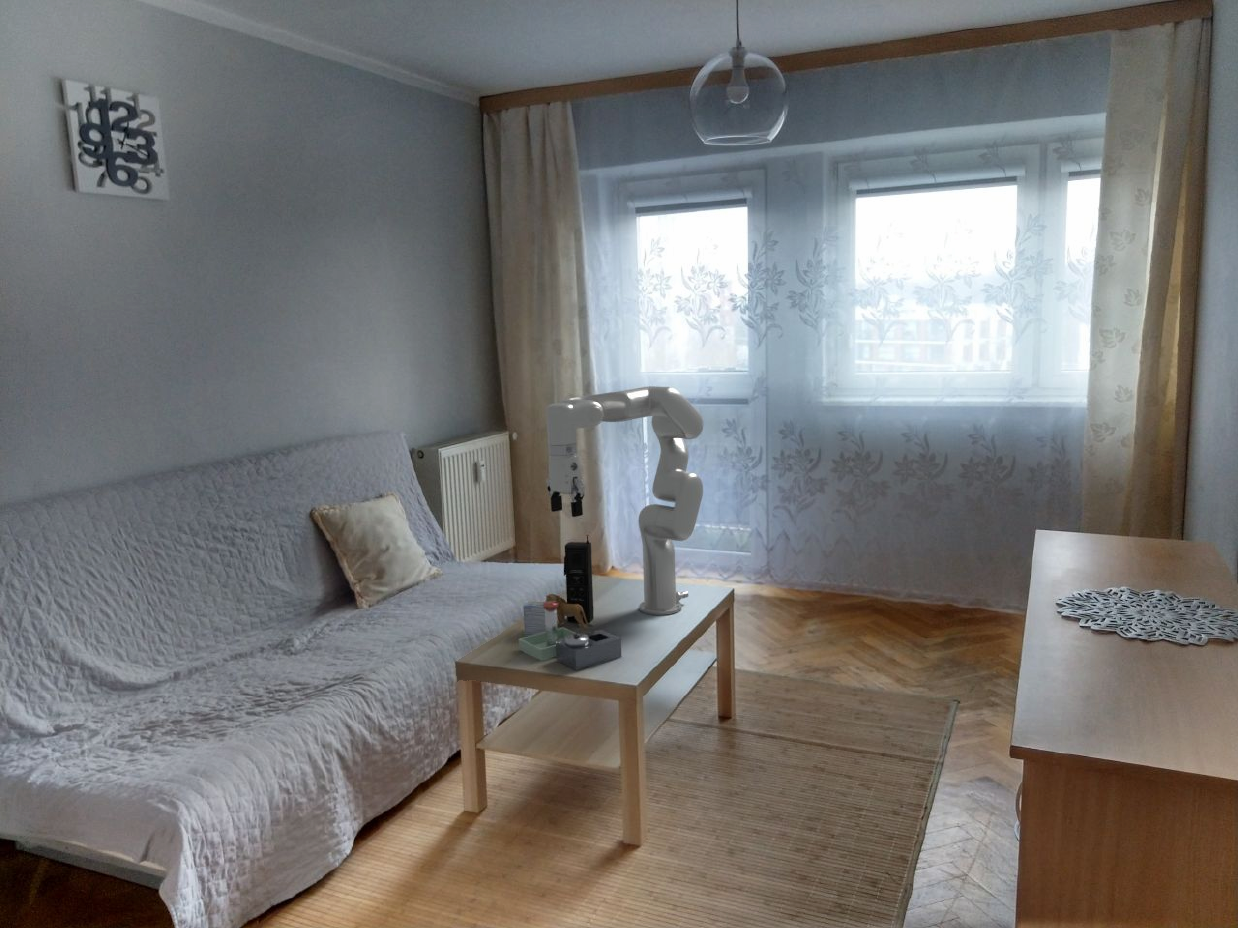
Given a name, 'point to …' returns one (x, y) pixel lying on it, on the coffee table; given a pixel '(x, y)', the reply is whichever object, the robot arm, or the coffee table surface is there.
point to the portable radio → (579, 577)
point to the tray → (541, 644)
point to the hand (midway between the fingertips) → (567, 513)
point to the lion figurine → (568, 611)
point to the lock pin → (551, 622)
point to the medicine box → (534, 618)
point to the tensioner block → (588, 649)
